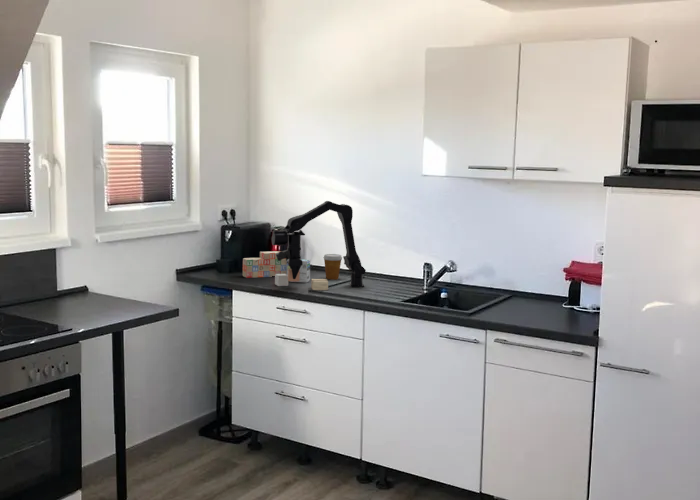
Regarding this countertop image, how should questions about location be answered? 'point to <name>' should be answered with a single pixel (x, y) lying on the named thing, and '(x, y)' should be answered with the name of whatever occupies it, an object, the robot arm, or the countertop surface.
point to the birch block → (319, 284)
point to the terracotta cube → (290, 277)
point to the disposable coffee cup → (332, 266)
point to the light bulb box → (303, 271)
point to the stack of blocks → (264, 265)
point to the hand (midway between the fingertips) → (293, 278)
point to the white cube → (281, 279)
